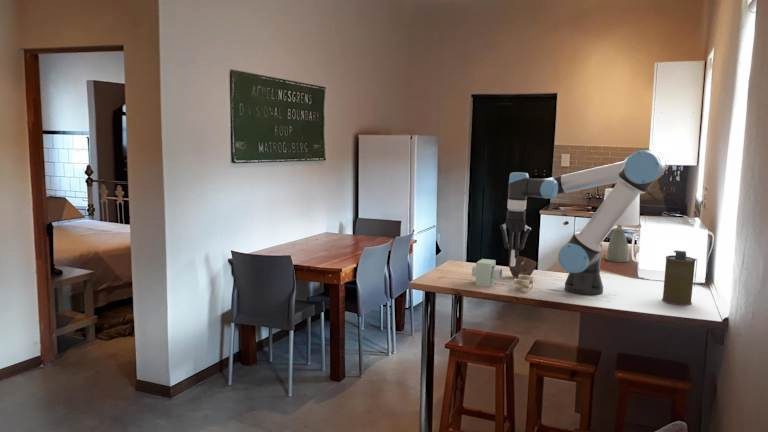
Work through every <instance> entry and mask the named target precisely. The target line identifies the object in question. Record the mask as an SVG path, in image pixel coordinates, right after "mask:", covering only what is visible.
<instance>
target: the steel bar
mask: <svg viewBox="0 0 768 432" xmlns="http://www.w3.org/2000/svg"><path fill="white" fill-rule="evenodd" d="M471 277H475V278H476V264H475V265H473V266H471ZM491 279H495V280H501V279H503V268H502V267H501V268H500V267H495V268H494V267H491Z"/></svg>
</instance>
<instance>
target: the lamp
mask: <svg viewBox="0 0 768 432" xmlns="http://www.w3.org/2000/svg"><path fill="white" fill-rule="evenodd" d="M613 188H614V187H612V188H605V190H604V197H603V201H604V200H605V199H606V197H607V196H608V195H609V193H610V192H611V191H612V189H613ZM640 195H641V194H639V195H638V196H637V197H636V199H635V200H634V201H633V203H632V204H631V205H630V207H629V208H628V209H627V210H626V212H625V213H624V214H623V216H622V217H621V218H620V220H619V221H618V222H617V223H616V225H615V226H616V227H613V229H612V230H613V233H612V235H611V237H610V239H609V242H608V246H607V249H606V254H605V255H606V256H605V260H607V261H609V262H614V263H615V262H616V263H627V262H629V260H630V259H629V255H630V254H629V243H628V241H627V240H628V239H627V237H626V234H625V232H626V228H623V226H624V227H635V226H636V227H637V226H640V202H641V201H640Z"/></svg>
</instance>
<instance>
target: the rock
mask: <svg viewBox="0 0 768 432" xmlns="http://www.w3.org/2000/svg"><path fill="white" fill-rule="evenodd" d="M510 263H511V258H509V259H508V264H507V265H508V267H509V272H510V273H511V275H512V277H513V278H515V279H518V276H519V274H520V275H529V276H532V274H533V272H534V271H535V269H536V267H537V264H538V262H536V261H535V260H533V259H531V258H527V257H525V256H520V255H518V258H517V259H516V261H515V266H514V267H513V266H510Z"/></svg>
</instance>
